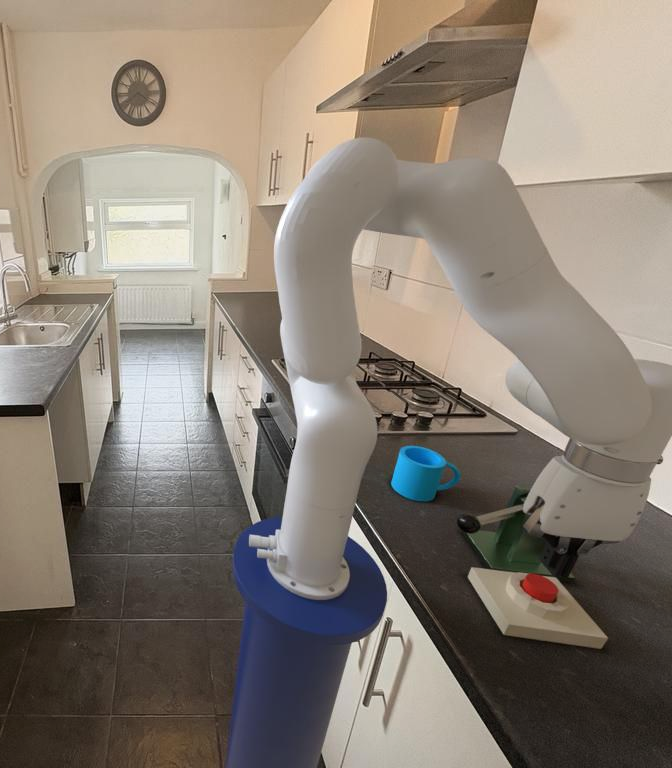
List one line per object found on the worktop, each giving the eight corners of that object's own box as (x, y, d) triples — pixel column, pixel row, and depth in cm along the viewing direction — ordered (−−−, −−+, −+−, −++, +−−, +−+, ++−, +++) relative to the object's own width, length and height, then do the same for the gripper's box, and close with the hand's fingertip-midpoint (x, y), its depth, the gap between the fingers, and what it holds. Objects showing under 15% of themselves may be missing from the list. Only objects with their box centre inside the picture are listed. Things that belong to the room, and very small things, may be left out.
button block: (503, 635, 58) (513, 615, 56) (467, 577, 67) (474, 558, 65) (601, 649, 56) (614, 629, 55) (550, 587, 65) (560, 568, 64)
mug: (398, 498, 85) (407, 465, 82) (386, 475, 92) (394, 443, 89) (462, 506, 83) (475, 472, 80) (445, 481, 90) (456, 450, 87)
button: (531, 601, 59) (536, 592, 58) (516, 580, 62) (520, 571, 61) (560, 605, 58) (565, 596, 58) (543, 583, 62) (547, 575, 61)
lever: (465, 540, 69) (460, 526, 69) (456, 526, 72) (451, 513, 71) (556, 517, 65) (551, 501, 64) (542, 503, 68) (537, 489, 67)
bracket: (489, 572, 68) (516, 511, 63) (462, 533, 76) (484, 475, 71) (572, 583, 66) (607, 520, 61) (535, 541, 74) (563, 483, 69)
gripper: (649, 447, 53) (592, 554, 60) (519, 438, 56) (479, 543, 63) (710, 482, 46) (638, 599, 54) (559, 471, 49) (509, 584, 56)
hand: (552, 568), depth 58 cm, fingers closed
